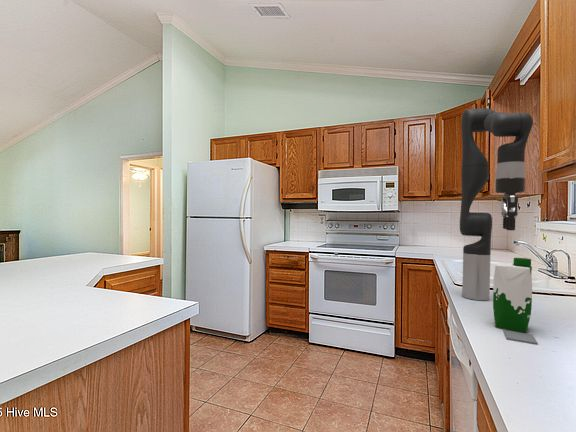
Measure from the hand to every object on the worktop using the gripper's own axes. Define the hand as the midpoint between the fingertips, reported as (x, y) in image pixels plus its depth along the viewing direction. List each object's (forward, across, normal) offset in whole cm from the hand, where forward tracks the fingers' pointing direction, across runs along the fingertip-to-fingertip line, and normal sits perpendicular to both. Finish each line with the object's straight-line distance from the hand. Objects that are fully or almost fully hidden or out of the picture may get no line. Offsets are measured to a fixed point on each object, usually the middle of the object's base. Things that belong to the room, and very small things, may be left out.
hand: (508, 229), depth 100 cm
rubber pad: (+28, +18, +1) cm, 33 cm away
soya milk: (+28, +10, 0) cm, 30 cm away
